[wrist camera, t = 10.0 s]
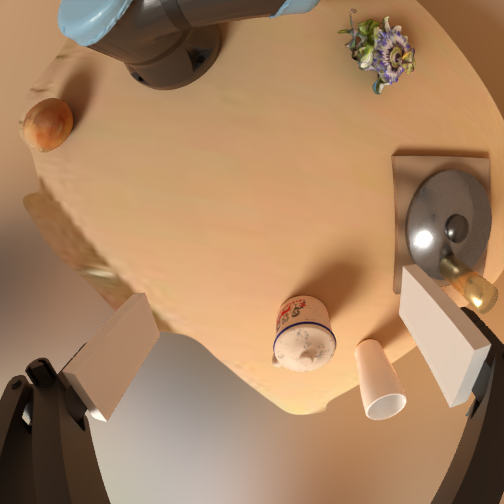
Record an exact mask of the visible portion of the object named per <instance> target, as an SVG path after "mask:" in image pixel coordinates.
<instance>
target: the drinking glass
mask: <svg viewBox="0 0 504 504" xmlns="http://www.w3.org/2000/svg"><path fill="white" fill-rule="evenodd" d="M354 355H355V359H356V363H357V369H358V376H359V383H360V391H361V397H362V402H363V405H364V409H365V412H366V415H367V416H368V418H370V419H373V420H382V419H386V418H389V417H391V416H393V415H395V414H397V413H398V412H399V411H401V409H403V407H404V406H405V404H406V401H407V398H406V395H405V392H404V389H403V387H402V384H401V381H400V379H399V377H398V376H397V374H396V372H395V370H394V368H393V367H392V365H391V363H390V361H389V360H388V358H387V356H386V354H385V353H384V351H383V349H382V347H381V344H380V343H379V342H378V341H376V340H374V339H368V340H365V341H363V342H361V343H360V344H359V345H358V346H357V347H356V349H355V352H354Z"/></svg>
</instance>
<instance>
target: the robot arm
mask: <svg viewBox="0 0 504 504" xmlns="http://www.w3.org/2000/svg"><path fill="white" fill-rule="evenodd" d="M319 1H320V0H62V1H61V4H60V7H59V11H58V26H59V29H60V31H61V32H62V33H63V34H64V35H65V36H66V37H68V38H70V39H72V40H74V41H76V42H77V43H78V44H79V45H81V46H85V47H88V48H91V49H93V50H96V51H98V52H101V53H103V54H106V55H108V56H110V57H113V58H115V59H117V60H120V61H122V62H124V64H125V65H126V67H127V69H128V70H129V72H130V74H131V75H132V76H133V78H134V79H136V80H137V81H138V82H139V83H141V84H143V85H145V86H148V87H150V88H153V89H157V90H172V89H177V88H180V87H183V86H186V85H188V84H190V83H192V82H193V81H195V80H197V79H198V78H199V77H201V76H202V75H203V74H204V73H205V72H206V71H207V70H208V69H209V68H210V67H211V65H212V64H213V63H214V61H215V59H216V57H217V55H218V53H219V50H220V45H221V36H220V32H219V29H218V27H217V25H216V24H219V23H225V22H231V21H237V20H244V19H251V18H260V17H269V18H275V17H278V16H279V15H289V14H302V13H306V12H309V11H310V10H312V9H313V8H314V7H315V6H316V5H317V4H318V3H319ZM399 316H400V317H401V319H402V320H403V322H404V324H405V325H406V327H407V329H408V330H409V332H410V334H411V335H412V337H413V339H414V340H415V342H416V344H417V346H418V347H419V349H420V351H421V353H422V354H423V356H424V358H425V360H426V362H427V364H428V365H429V367H430V369H431V371H432V373H433V375H434V377H435V378H436V380H437V382H438V384H439V386H440V388H441V390H442V392H443V394H444V396H445V398H446V400H447V402H448V404H449V406H450V408H451V407H454V406H456V405H459V404H461V403H464V402H466V401H467V399H468V397H469V395H470V393H471V391H472V392H473V394H474V395H475V397H476V398H475V400H474V401H473V403H472V405H471V407H470V409H469V411H468V412H467V414H466V416H468V415H469V417H468V420H467V423H466V426H465V429H464V432H463V435H462V437H461V440H460V443H459V445H458V448H457V450H456V453H455V455H454V458H453V460H452V462H451V465H450V467H449V469H448V471H447V473H446V475H445V477H444V480H443V481H442V483H441V485H440V487H439V489H438V491H437V493H436V495H435V497H434V498H433V501H432V502H431V504H499V503H500V500H501V497H502V494H503V492H504V344H502V343H501V341H500V340H499V339H498V338H497V337H496V336H495V334H494V333H493V332H492V331H491V330H490V329H489V328H488V326H485V323H484V322H483V321H482V320H480V318H479V317H478V316H477V315H476V314H475V312H473V311H472V310H470V309H468V308H466V307H461V308H459V307H458V306H457V305H456V303H455V302H454V301H453V300H452V299H451V298H450V297H449V296H448V295H447V294H446V293H445V292H444V291H443V290H442V289H441V288H440V287H439V286H438V285H437V284H436V283H435V282H434V281H433V280H432V279H431V278H430V277H429V276H428V275H427V274H426V273H425V272H424V271H423V270H422V269H421V268H420V267H419V266H418V265H417V264H414V265H407V266H403V273H402V287H401V299H400V309H399ZM159 336H160V333H159V331H158V328H157V325H156V323H155V320H154V317H153V314H152V312H151V309H150V306H149V303H148V300H147V297H146V294H145V293H134V294H133V295H132V296H131V297H130V298H129V299H128V300H127V301H126V302H125V303H124V304H123V305H122V306H121V307H120V308H119V309H118V310H117V311H116V312H115V313H114V314H113V315H112V317H111V318H110V319H109V320H108V321H107V322H106V323H105V324H104V325H103V326H102V327H101V328H100V329H99V330H98V331H97V333H96V334H95V335H94V336H93V337H92V338H91V339H90V340H89V341H88V342H87V343H85V344H84V345H83V346H82V347H81V348H80V349H79V351H78V352H77V353H76V354H75V355H74V356H73V358H71V360H70V361H69V362H68V363H67V364H66V365H65V366H64V367H63V369H62V370H61V371H60V372H59V373H58V374H57V373H56V372H55V370H54V368H53V367H52V365H51V363H50V362H49V360H48V359H46V358H38V359H36V360H34V361H33V362H32V363H30V364H29V365H28V366H27V368H26V370H25V372H26V373H27V375H28V376H29V378H30V379H31V381H32V382H33V384H30V383H29V382H28V380H27V379H26V377H25V376H23V375H19V376H15V377H13V378H12V379H11V380H10V381H9V383H8V384H7V386H6V389H5V390H4V393H3V395H2V397H1V400H0V504H111V503H110V501H109V498H108V495H107V492H106V489H105V486H104V483H103V480H102V476H101V473H100V469H99V466H98V462H97V458H96V455H95V450H94V446H93V442H92V437H91V433H90V428H89V422H88V419H87V417H86V415H85V412H86V411H87V409H88V410H89V412H90V413H91V414H92V416H93V417H94V418H96V419H99V420H103V421H108V419H109V418H110V416H111V414H112V413H113V411H114V409H115V407H116V406H117V404H118V403H119V401H120V399H121V398H122V396H123V394H124V393H125V391H126V389H127V388H128V386H129V384H130V383H131V381H132V379H133V378H134V376H135V375H136V373H137V371H138V370H139V368H140V367H141V365H142V363H143V362H144V360H145V359H146V357H147V355H148V354H149V352H150V350H151V349H152V347H153V346H154V344H155V343H156V341H157V340H158V338H159ZM23 413H24V414H25V416H26V417H27V418H28V419H29V420H30V423H29V425H28V424H27V423H26V422H25V421H24V420H23V419H22V415H23Z"/></svg>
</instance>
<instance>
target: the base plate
mask: <svg viewBox="0 0 504 504" xmlns="http://www.w3.org/2000/svg"><path fill="white" fill-rule="evenodd" d="M392 167H393V180H394V198H395V264H394V282H393V291H394V293H395V294H401V287H402V273H403V266H407V265H414V264H415V263H414V261H413V260H412V258H411V256H410V253H409V251H408V247H407V243H406V237H405V224H406V217H407V212H408V208H409V205H410V203H411V200H412V198H413V196H414V194H415V192H416V191H417V189H418V188H419V187H420V185H421V184H422V183H423V182H424V181H425V180H426V179H427V178H428V177H430V176H431V175H433V174H434V173H436V172H439V171H442V170H447V169H453V170H460V171H464V172H467V173H469V174H471V175H472V176H473V177H475V178H476V179H477V180H478V181H479V182H480V184H481V185H482V186H483V188H484V190H485V192H486V194H487V196H488V199H489V202H490V159H487V158H474V157H454V156H392ZM487 244H488V243H487ZM486 253H487V245H486V248H485V250H484V252H483V254H482V256H481V257H480V259H479V260H478V262H477V263H476V264H475V265H474V266H473V267H472V268H471V269H473V270H474V271H475V272H477V273H478V274H479V275H481V276H482V277H483V273H484V267H485V260H486ZM430 278H431V277H430ZM431 279H432V280H433V281H434V282H435V283H436V284H437V285H438V286H439V287H442V286H448V285H451V284H450V283H449V282H447V281H446V280H437V279H434V278H431Z"/></svg>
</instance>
